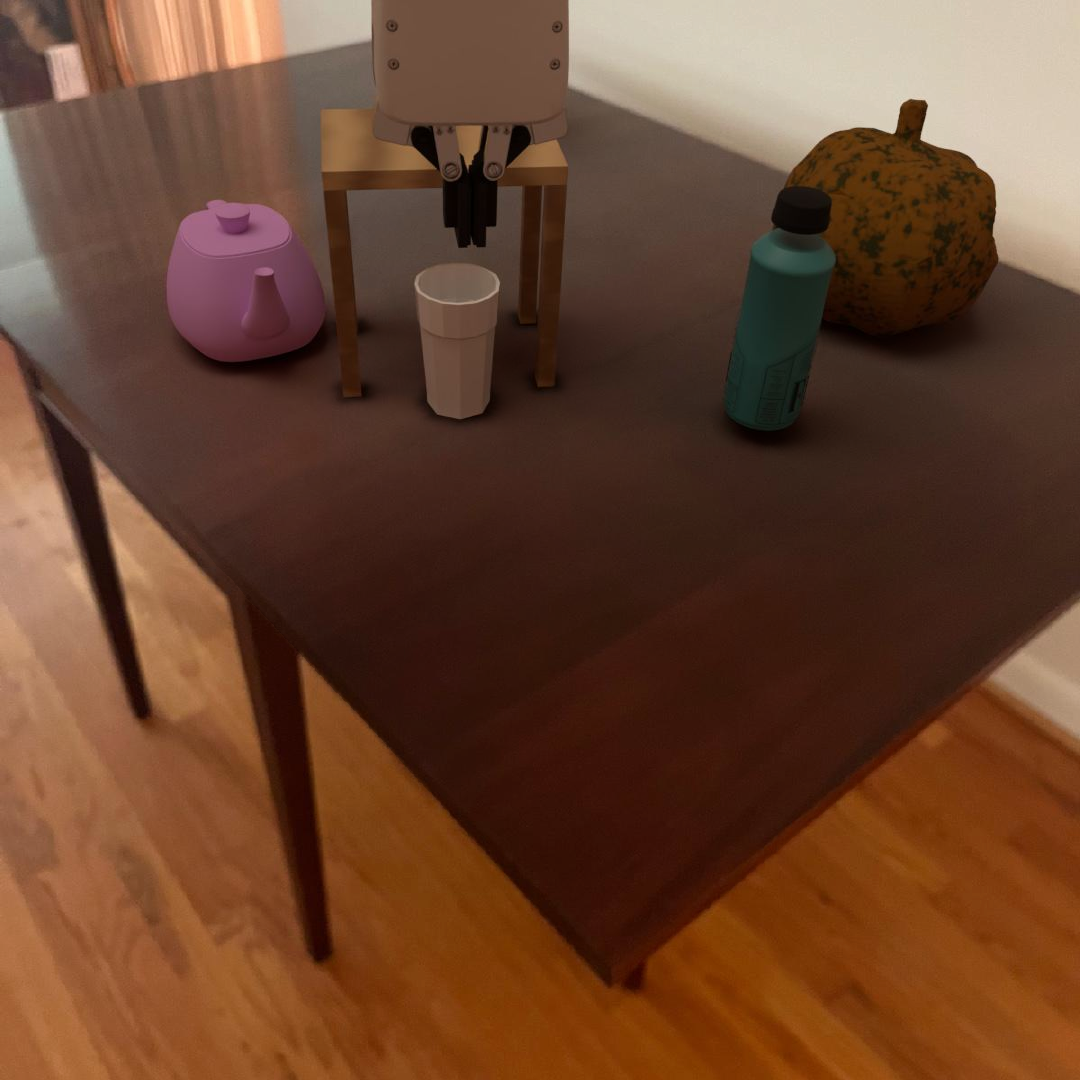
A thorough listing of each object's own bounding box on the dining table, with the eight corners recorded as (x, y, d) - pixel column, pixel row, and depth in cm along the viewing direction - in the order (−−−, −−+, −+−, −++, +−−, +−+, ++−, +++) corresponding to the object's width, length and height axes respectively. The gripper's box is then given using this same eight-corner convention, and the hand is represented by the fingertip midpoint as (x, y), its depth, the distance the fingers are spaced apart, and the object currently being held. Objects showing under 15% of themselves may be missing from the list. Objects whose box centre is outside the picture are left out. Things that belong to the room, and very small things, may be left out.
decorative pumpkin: (791, 360, 94) (848, 129, 82) (740, 266, 110) (781, 63, 98) (1005, 368, 96) (1091, 144, 84) (923, 275, 112) (985, 77, 100)
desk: (343, 397, 88) (321, 171, 75) (341, 323, 97) (320, 109, 84) (554, 386, 91) (568, 165, 78) (533, 315, 99) (542, 106, 86)
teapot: (155, 300, 98) (128, 178, 90) (294, 274, 103) (279, 156, 95) (208, 414, 85) (181, 284, 77) (363, 379, 90) (353, 252, 82)
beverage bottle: (788, 455, 85) (848, 221, 71) (708, 435, 86) (752, 203, 73) (802, 412, 89) (860, 185, 76) (726, 394, 91) (769, 168, 77)
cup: (494, 378, 91) (496, 262, 84) (501, 422, 86) (503, 303, 79) (418, 380, 90) (413, 263, 83) (420, 425, 86) (415, 305, 78)
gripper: (609, -136, 53) (581, 207, 66) (311, -146, 51) (339, 212, 63) (643, -104, 48) (606, 264, 60) (310, -113, 46) (342, 271, 58)
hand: (469, 236), depth 62 cm, fingers closed
